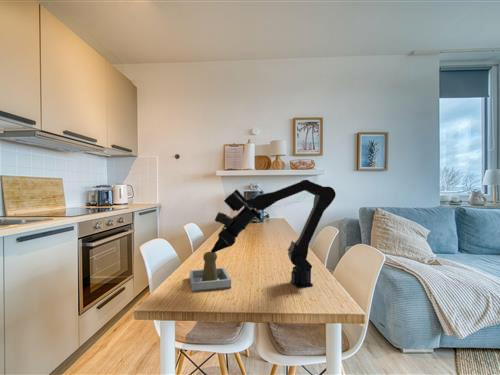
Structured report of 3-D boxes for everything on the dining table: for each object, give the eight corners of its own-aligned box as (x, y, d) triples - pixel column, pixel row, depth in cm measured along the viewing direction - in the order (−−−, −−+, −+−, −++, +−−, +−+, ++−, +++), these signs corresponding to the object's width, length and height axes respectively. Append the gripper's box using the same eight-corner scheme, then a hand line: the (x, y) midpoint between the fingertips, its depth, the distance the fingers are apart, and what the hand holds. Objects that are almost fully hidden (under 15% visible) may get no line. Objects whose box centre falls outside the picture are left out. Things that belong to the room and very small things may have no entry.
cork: (215, 277, 99) (216, 249, 99) (219, 282, 93) (219, 253, 93) (200, 279, 97) (200, 251, 97) (203, 284, 91) (203, 255, 91)
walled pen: (223, 274, 104) (223, 267, 104) (231, 288, 90) (231, 279, 90) (189, 277, 100) (189, 270, 100) (191, 292, 86) (191, 283, 86)
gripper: (229, 203, 104) (203, 229, 104) (225, 207, 86) (193, 239, 86) (248, 222, 104) (221, 248, 104) (248, 229, 86) (216, 261, 86)
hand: (213, 248), depth 95 cm, fingers open, 9 cm apart
